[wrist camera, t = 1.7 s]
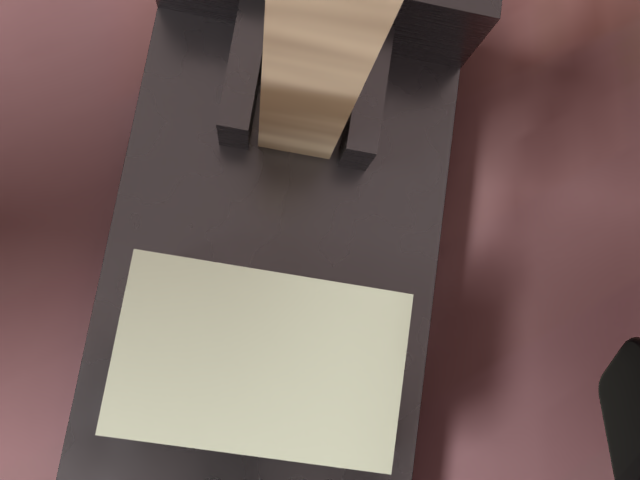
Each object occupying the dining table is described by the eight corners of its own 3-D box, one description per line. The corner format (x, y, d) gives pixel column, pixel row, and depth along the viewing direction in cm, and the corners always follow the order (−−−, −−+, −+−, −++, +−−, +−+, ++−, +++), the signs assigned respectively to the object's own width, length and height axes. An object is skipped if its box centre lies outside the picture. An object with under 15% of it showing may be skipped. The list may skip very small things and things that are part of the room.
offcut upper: (379, 462, 18) (391, 474, 16) (108, 426, 17) (95, 434, 16) (400, 297, 19) (413, 294, 17) (143, 255, 18) (133, 248, 16)
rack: (393, 524, 20) (439, 586, 15) (67, 484, 19) (5, 535, 14) (451, 45, 23) (505, -31, 19) (172, -13, 22) (150, -109, 17)
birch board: (329, 159, 21) (418, -32, 10) (257, 146, 20) (268, -64, 10) (345, 53, 21) (446, -236, 10) (276, 39, 21) (306, -271, 10)
